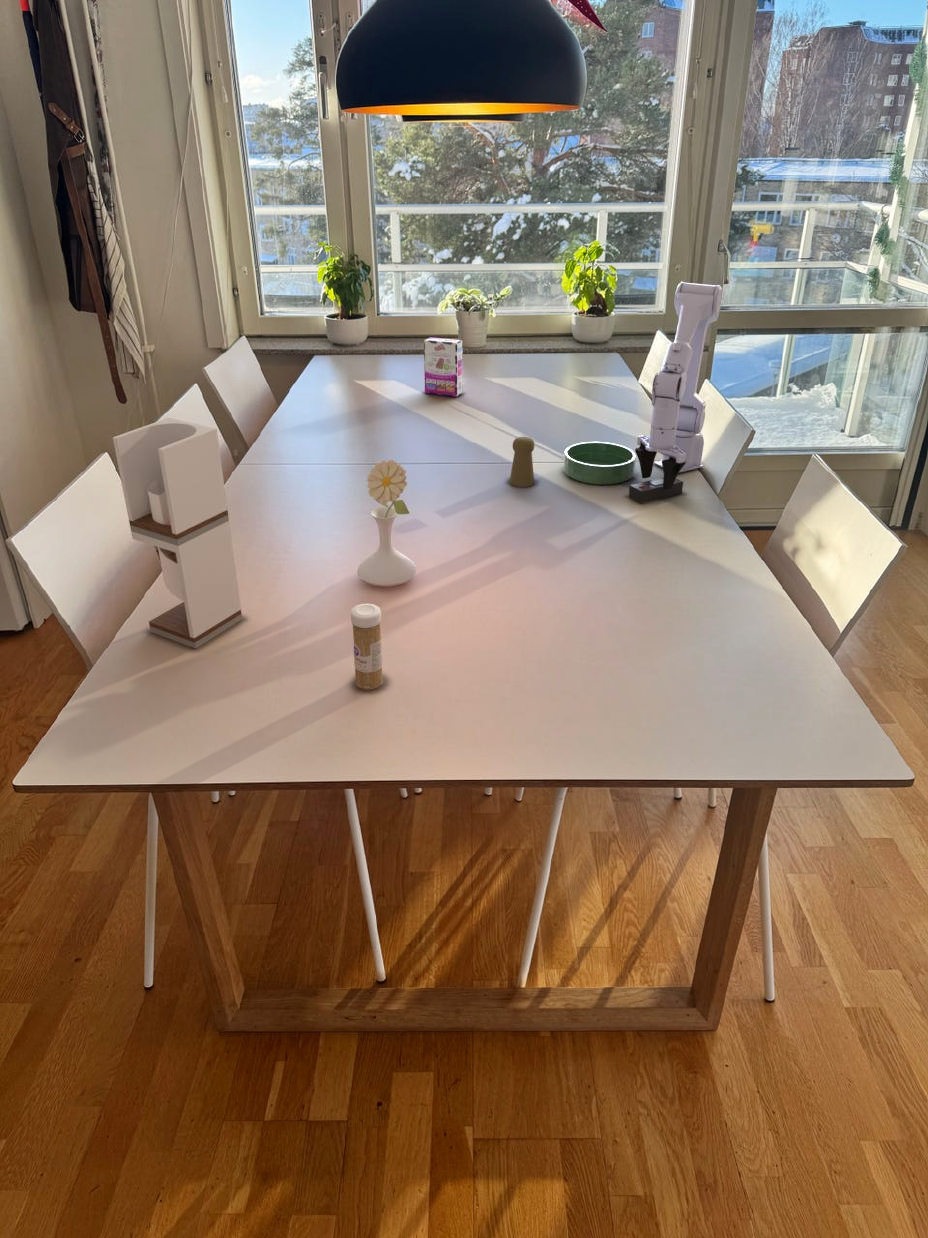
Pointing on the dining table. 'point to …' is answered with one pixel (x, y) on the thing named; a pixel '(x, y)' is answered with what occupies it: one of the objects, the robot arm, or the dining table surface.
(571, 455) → the bowl
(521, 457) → the cork
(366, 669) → the sprinkles bottle
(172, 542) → the white tiered shelf stand
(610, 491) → the dining table surface
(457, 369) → the candy bar box
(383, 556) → the flower in vase
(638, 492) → the remote
